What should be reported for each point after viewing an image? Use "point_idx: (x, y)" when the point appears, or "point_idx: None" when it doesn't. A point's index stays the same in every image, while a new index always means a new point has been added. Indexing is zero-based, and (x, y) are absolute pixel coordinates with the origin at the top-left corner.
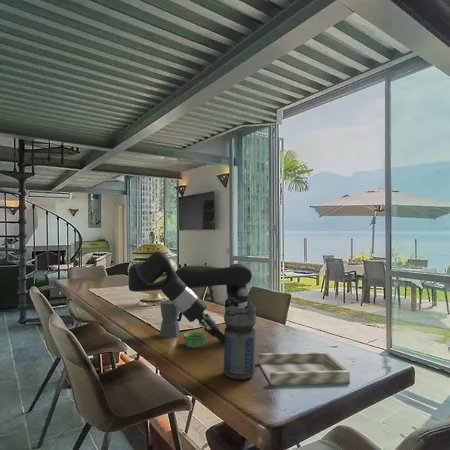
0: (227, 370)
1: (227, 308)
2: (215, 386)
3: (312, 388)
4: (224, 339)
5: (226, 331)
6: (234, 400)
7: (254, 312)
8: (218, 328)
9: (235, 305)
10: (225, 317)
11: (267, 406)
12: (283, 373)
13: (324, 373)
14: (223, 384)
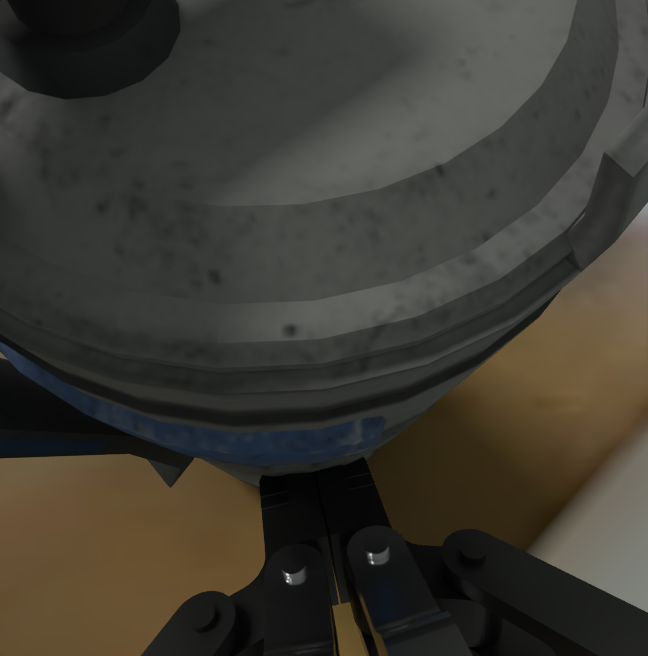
0: (369, 454)
1: (370, 301)
2: (493, 523)
3: None
4: (367, 466)
5: (406, 425)
6: (633, 393)
7: None
8: (304, 571)
9: (151, 24)
10: (401, 413)
11: (638, 241)
12: None
13: None
14: (453, 475)
